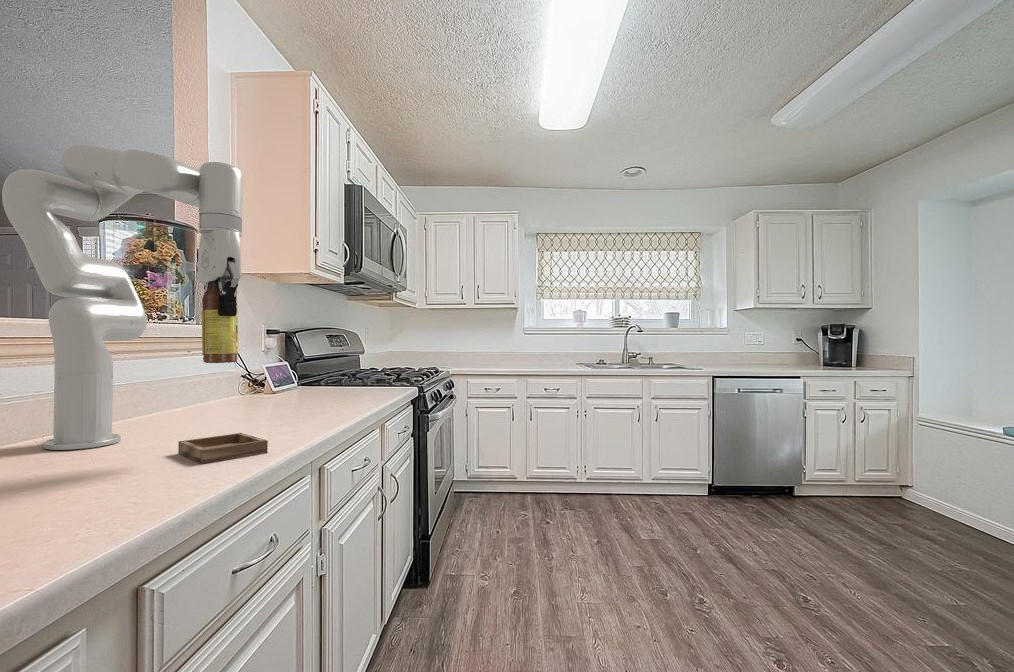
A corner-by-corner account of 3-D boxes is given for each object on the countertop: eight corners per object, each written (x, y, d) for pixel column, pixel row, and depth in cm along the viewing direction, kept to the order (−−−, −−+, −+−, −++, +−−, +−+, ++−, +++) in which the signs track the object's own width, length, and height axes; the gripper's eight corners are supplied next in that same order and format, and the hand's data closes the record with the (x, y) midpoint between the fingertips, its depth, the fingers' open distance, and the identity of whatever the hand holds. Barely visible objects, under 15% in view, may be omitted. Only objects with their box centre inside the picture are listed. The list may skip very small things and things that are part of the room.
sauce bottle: (243, 363, 100) (245, 264, 100) (211, 364, 95) (213, 260, 94) (227, 361, 103) (228, 266, 103) (194, 362, 98) (196, 263, 98)
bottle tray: (178, 453, 98) (178, 441, 98) (240, 444, 108) (241, 432, 108) (202, 464, 91) (202, 450, 91) (267, 452, 100) (267, 440, 100)
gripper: (184, 229, 102) (183, 316, 102) (218, 216, 91) (217, 314, 91) (223, 235, 107) (222, 318, 107) (259, 224, 97) (258, 316, 96)
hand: (220, 315), depth 99 cm, fingers closed on sauce bottle, 6 cm apart
